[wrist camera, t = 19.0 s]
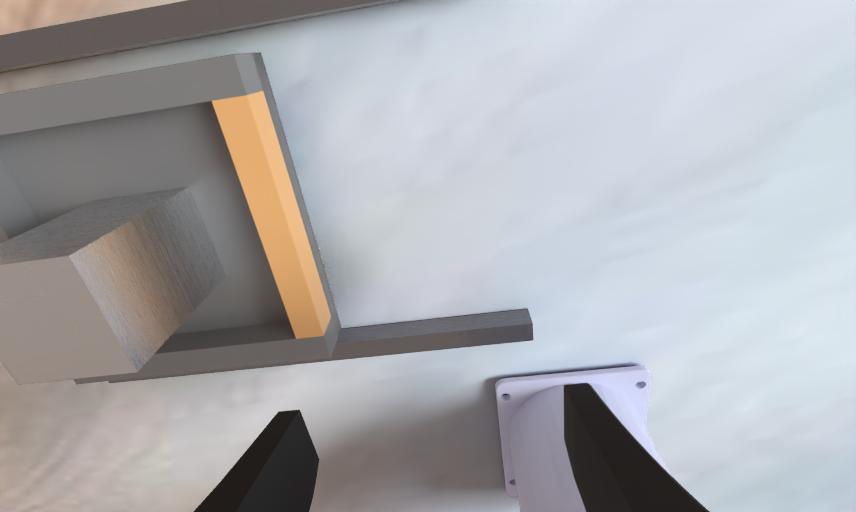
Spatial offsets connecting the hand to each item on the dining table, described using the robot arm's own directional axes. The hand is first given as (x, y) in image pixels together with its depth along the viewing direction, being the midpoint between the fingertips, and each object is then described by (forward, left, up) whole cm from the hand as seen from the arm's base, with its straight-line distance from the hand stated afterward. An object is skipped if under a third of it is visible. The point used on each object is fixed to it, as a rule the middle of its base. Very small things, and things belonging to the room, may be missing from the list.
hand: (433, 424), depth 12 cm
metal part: (+4, +11, -7) cm, 14 cm away
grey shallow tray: (+4, +11, -9) cm, 15 cm away
